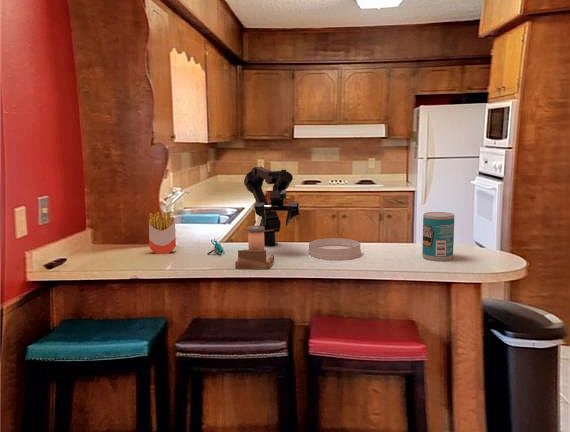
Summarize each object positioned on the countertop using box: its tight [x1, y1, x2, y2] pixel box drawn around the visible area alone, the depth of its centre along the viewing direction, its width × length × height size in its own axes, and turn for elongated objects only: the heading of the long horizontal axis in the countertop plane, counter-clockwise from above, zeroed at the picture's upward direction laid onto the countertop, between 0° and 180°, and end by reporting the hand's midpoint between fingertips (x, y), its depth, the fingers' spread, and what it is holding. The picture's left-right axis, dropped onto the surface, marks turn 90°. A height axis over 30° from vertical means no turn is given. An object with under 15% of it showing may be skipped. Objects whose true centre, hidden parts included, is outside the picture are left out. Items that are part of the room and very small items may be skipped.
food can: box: [421, 211, 455, 262], centre depth 210 cm, size 12×12×18 cm
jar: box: [246, 225, 266, 250], centre depth 209 cm, size 7×7×14 cm
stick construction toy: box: [207, 238, 226, 256], centre depth 227 cm, size 12×7×8 cm
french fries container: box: [148, 211, 177, 255], centre depth 229 cm, size 5×11×18 cm, turn 94°
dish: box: [308, 237, 362, 261], centre depth 221 cm, size 22×22×5 cm
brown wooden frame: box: [234, 249, 275, 270], centre depth 206 cm, size 13×13×7 cm
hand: (275, 225), depth 216 cm, fingers open, 9 cm apart
